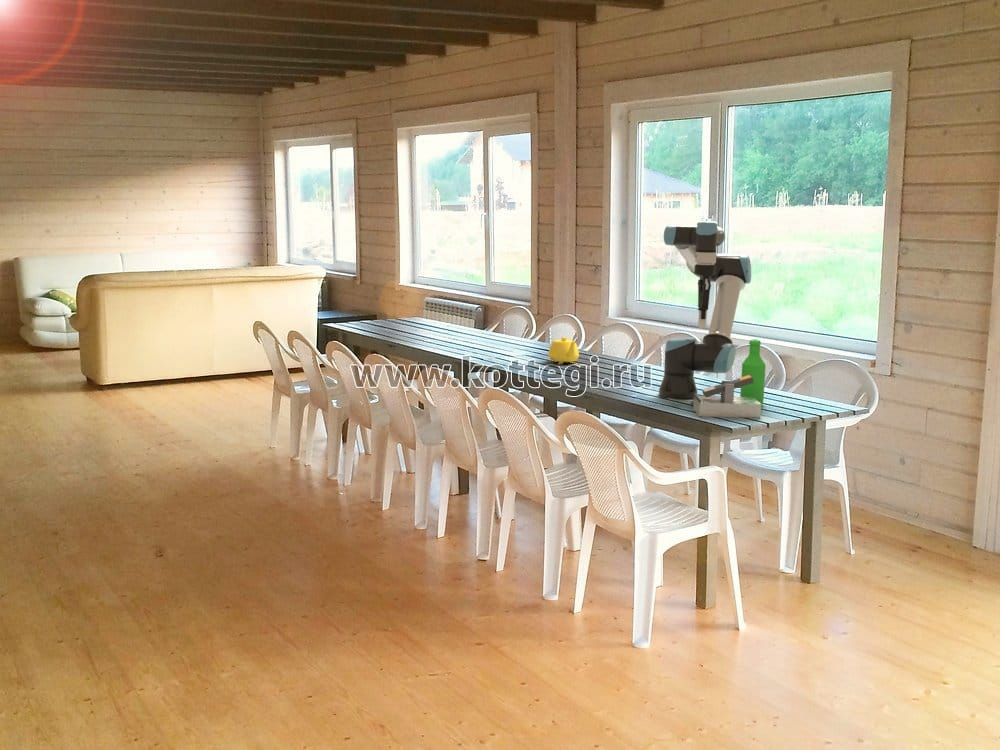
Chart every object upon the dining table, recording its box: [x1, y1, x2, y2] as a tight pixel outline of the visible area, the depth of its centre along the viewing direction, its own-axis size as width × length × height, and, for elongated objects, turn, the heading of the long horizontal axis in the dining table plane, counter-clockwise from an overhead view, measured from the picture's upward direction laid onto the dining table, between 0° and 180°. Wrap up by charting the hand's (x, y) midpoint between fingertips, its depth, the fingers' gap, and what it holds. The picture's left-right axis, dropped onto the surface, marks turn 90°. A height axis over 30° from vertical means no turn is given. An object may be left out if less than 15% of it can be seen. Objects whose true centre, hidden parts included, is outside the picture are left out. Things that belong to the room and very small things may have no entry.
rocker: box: [701, 375, 754, 397], centre depth 369 cm, size 6×18×2 cm, turn 88°
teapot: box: [548, 336, 580, 364], centre depth 481 cm, size 13×20×12 cm
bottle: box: [739, 339, 767, 406], centre depth 386 cm, size 9×9×25 cm
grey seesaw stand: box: [692, 380, 762, 419], centre depth 370 cm, size 14×22×11 cm, turn 88°
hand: (702, 327), depth 375 cm, fingers closed
